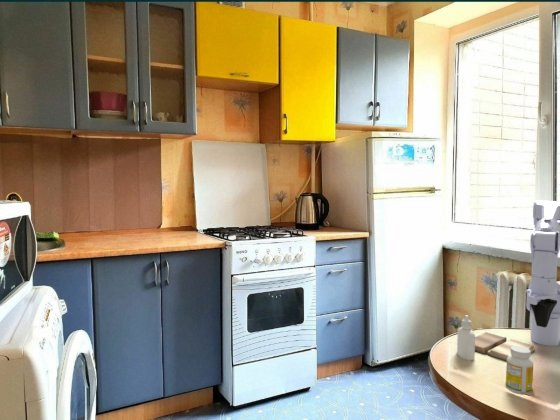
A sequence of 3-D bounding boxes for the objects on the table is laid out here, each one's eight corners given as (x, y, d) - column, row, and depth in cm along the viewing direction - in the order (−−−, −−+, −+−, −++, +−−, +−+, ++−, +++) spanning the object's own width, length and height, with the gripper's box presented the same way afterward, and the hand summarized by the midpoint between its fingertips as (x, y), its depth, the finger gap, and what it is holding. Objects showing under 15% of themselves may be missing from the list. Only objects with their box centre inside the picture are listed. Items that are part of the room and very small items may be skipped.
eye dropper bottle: (474, 356, 116) (475, 313, 115) (474, 364, 111) (475, 319, 110) (457, 353, 118) (458, 311, 117) (456, 361, 113) (457, 317, 112)
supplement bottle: (510, 394, 95) (511, 352, 95) (502, 383, 100) (503, 344, 100) (536, 396, 94) (538, 354, 94) (526, 385, 99) (528, 345, 99)
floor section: (484, 338, 129) (484, 331, 129) (535, 353, 118) (536, 345, 118) (461, 349, 121) (461, 341, 121) (513, 366, 110) (514, 357, 109)
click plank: (508, 343, 123) (508, 338, 123) (533, 350, 118) (534, 345, 118) (487, 354, 115) (487, 348, 115) (513, 362, 110) (513, 357, 110)
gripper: (538, 270, 120) (536, 317, 121) (516, 277, 111) (514, 327, 112) (566, 274, 114) (564, 323, 115) (545, 282, 105) (543, 335, 106)
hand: (541, 326), depth 113 cm, fingers closed
